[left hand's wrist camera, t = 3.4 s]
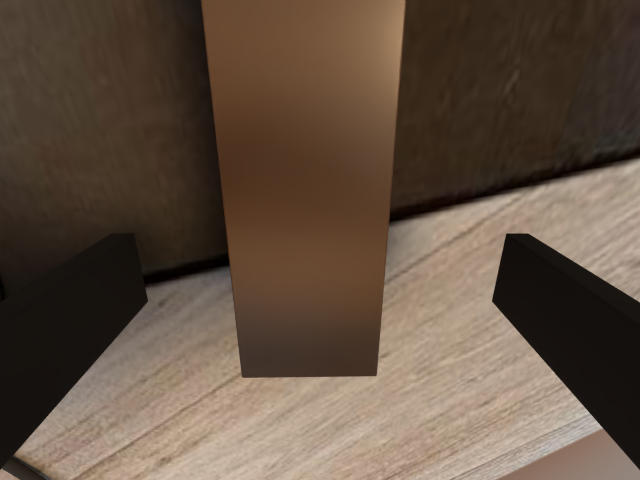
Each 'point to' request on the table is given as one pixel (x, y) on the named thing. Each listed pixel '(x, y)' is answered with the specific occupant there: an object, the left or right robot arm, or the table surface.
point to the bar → (306, 175)
